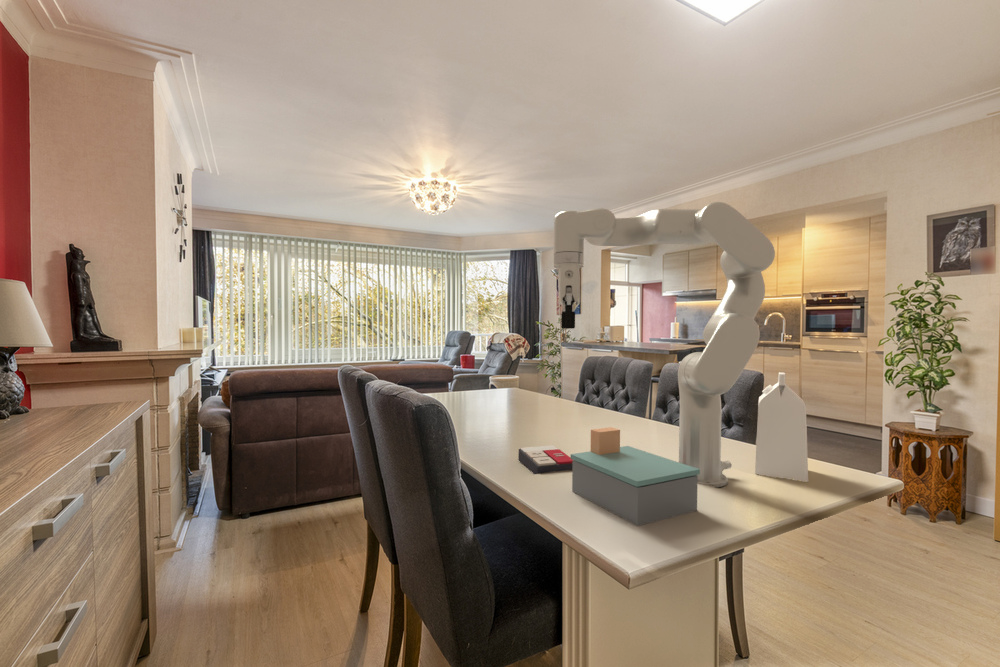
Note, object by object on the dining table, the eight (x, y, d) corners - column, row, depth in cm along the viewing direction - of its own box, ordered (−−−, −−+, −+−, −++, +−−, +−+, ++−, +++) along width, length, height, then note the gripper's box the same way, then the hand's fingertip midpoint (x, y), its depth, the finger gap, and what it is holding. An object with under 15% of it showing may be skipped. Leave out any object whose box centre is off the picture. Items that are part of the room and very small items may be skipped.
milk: (808, 482, 115) (810, 376, 114) (754, 474, 120) (756, 373, 120) (804, 469, 125) (806, 372, 125) (755, 462, 131) (757, 370, 130)
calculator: (537, 463, 117) (518, 445, 131) (537, 480, 117) (517, 460, 131) (577, 460, 120) (554, 443, 134) (577, 476, 120) (553, 457, 134)
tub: (626, 485, 111) (627, 451, 111) (697, 515, 93) (697, 475, 93) (572, 495, 104) (572, 460, 104) (637, 531, 86) (637, 487, 86)
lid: (627, 450, 111) (628, 425, 111) (699, 474, 93) (700, 444, 93) (570, 458, 104) (570, 431, 103) (636, 486, 85) (637, 454, 85)
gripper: (585, 255, 109) (584, 328, 110) (581, 265, 127) (580, 328, 127) (553, 256, 110) (552, 328, 111) (553, 265, 128) (553, 328, 128)
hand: (567, 328), depth 119 cm, fingers open, 9 cm apart
